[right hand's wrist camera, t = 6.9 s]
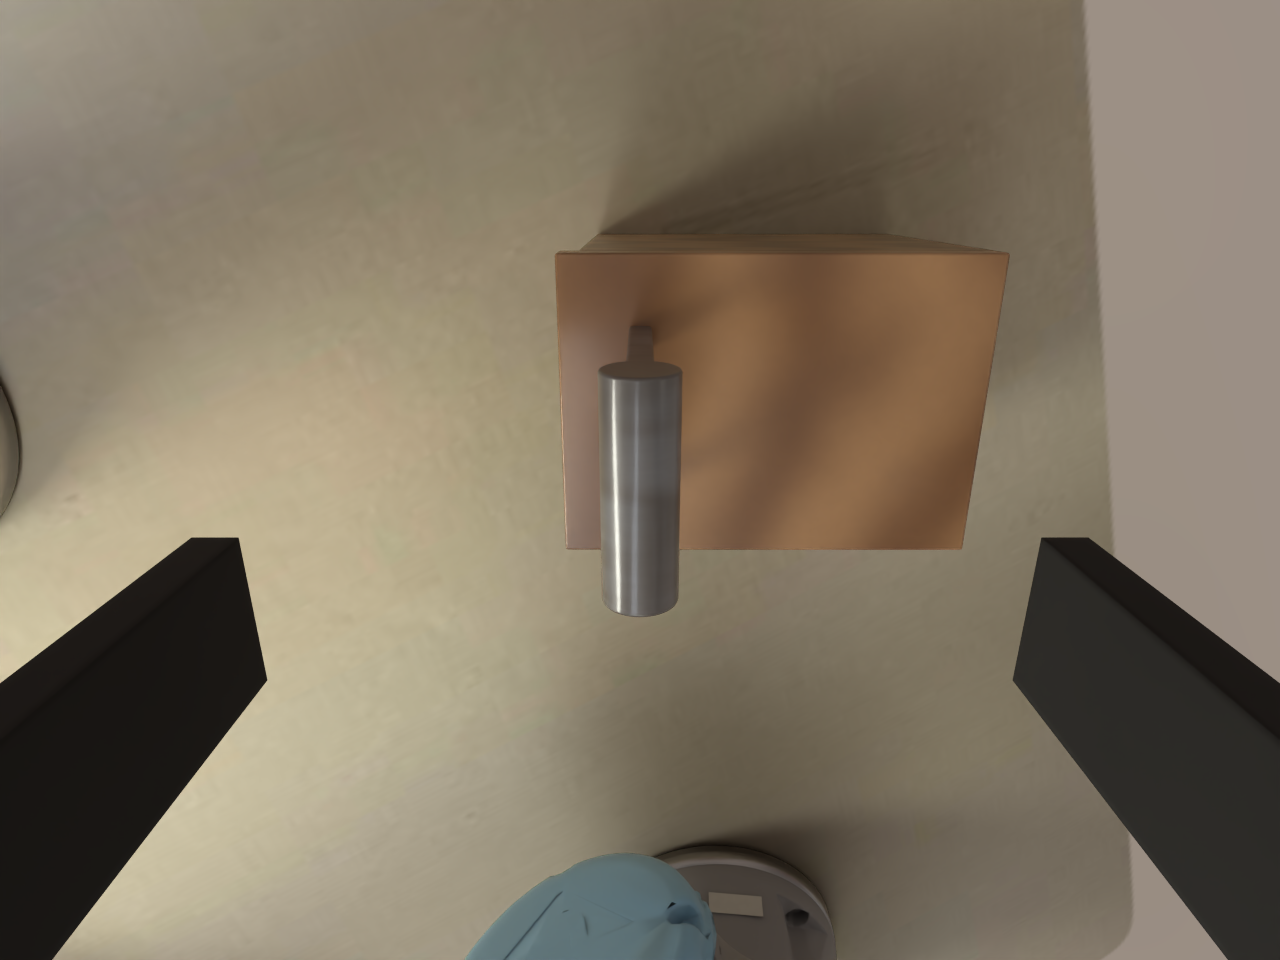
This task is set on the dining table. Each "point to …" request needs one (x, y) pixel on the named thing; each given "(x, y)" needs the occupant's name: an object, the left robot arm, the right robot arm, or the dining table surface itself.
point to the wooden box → (766, 243)
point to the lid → (768, 403)
